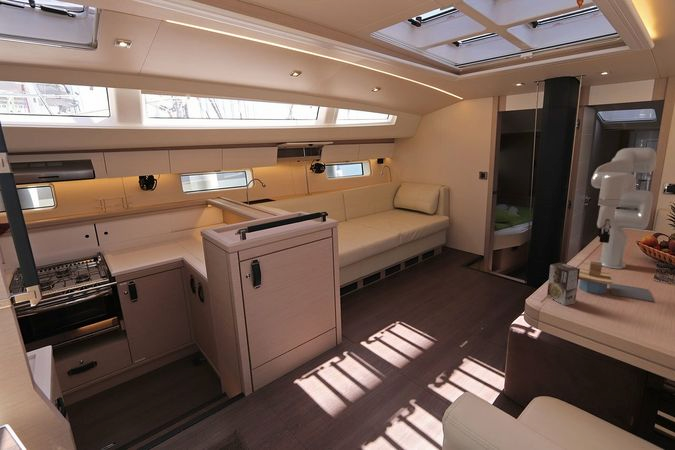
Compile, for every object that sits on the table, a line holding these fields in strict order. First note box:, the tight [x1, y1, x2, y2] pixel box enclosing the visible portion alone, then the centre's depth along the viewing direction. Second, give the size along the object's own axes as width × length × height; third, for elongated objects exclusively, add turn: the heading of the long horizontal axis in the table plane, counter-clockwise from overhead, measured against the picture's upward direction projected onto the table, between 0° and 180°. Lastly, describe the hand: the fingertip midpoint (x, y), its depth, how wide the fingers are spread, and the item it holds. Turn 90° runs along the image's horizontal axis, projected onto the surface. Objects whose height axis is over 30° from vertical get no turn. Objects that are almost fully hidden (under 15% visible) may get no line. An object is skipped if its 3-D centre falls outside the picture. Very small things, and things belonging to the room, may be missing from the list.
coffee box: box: [546, 262, 581, 306], centre depth 143 cm, size 9×6×16 cm
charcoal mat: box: [608, 282, 655, 303], centre depth 149 cm, size 14×14×1 cm
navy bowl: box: [578, 280, 608, 295], centre depth 153 cm, size 10×10×6 cm
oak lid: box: [578, 260, 613, 285], centre depth 152 cm, size 12×12×7 cm
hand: (603, 239), depth 147 cm, fingers open, 9 cm apart
